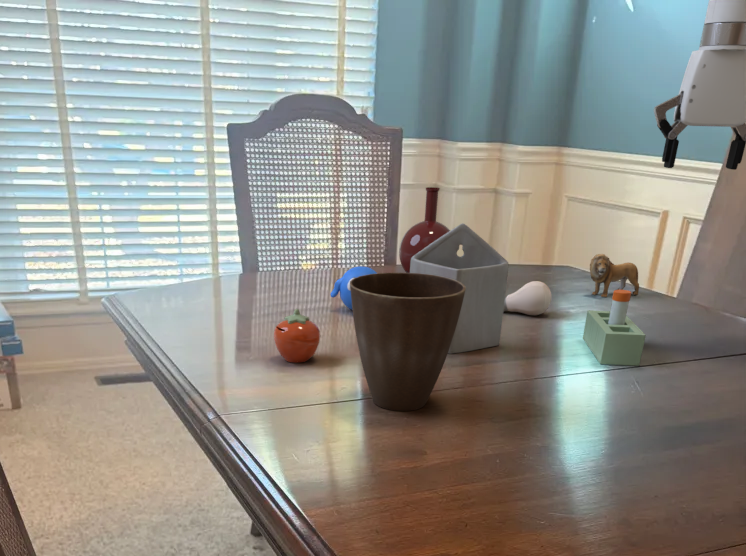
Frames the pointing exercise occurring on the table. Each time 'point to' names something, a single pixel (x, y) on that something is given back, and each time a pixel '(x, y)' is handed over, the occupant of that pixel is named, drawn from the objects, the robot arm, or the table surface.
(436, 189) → the round-bottom flask
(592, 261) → the lion figurine
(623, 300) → the test tube
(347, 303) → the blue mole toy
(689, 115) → the robot arm
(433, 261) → the planter
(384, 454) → the table surface
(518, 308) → the light bulb
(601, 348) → the rack
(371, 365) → the flower pot
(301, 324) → the tomato
